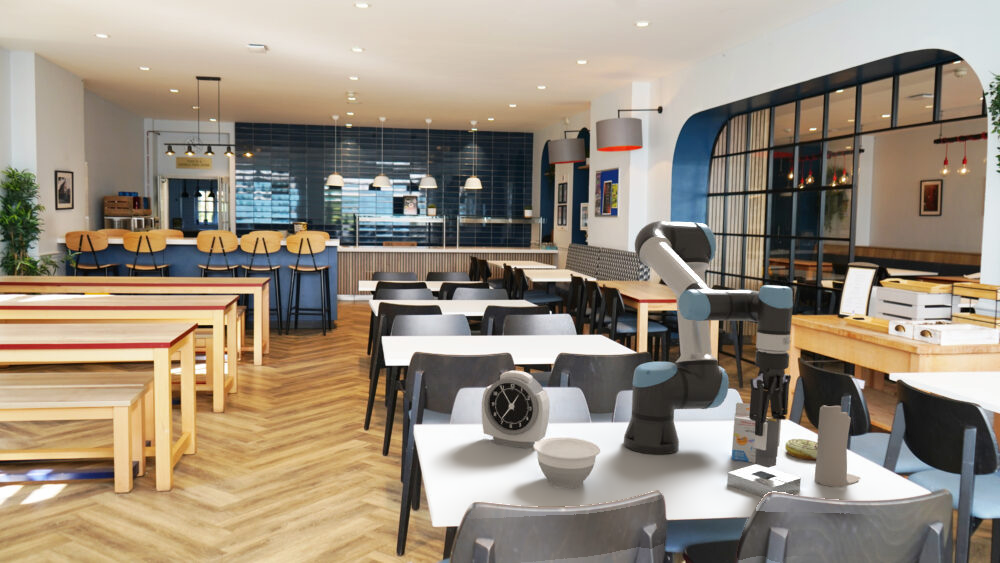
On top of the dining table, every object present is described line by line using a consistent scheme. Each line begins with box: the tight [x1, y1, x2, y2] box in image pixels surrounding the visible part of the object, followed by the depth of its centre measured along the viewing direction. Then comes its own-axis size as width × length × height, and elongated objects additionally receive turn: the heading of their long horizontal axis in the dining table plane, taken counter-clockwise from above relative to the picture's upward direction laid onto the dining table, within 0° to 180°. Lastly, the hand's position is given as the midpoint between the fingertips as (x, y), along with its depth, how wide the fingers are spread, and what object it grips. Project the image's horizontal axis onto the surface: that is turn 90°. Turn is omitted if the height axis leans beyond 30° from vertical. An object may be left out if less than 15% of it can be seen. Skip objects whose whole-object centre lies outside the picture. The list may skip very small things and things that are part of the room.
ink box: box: [731, 402, 768, 464], centre depth 205 cm, size 8×5×15 cm, turn 73°
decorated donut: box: [785, 438, 817, 461], centre depth 211 cm, size 10×11×4 cm
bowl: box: [532, 437, 601, 489], centre depth 182 cm, size 16×16×8 cm
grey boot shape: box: [814, 405, 861, 488], centre depth 191 cm, size 7×14×20 cm, turn 123°
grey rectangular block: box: [754, 416, 780, 468], centre depth 183 cm, size 5×5×11 cm
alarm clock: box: [481, 370, 550, 450], centre depth 211 cm, size 18×8×20 cm, turn 68°
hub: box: [726, 463, 802, 498], centre depth 184 cm, size 12×12×3 cm
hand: (766, 446), depth 183 cm, fingers closed on grey rectangular block, 5 cm apart
